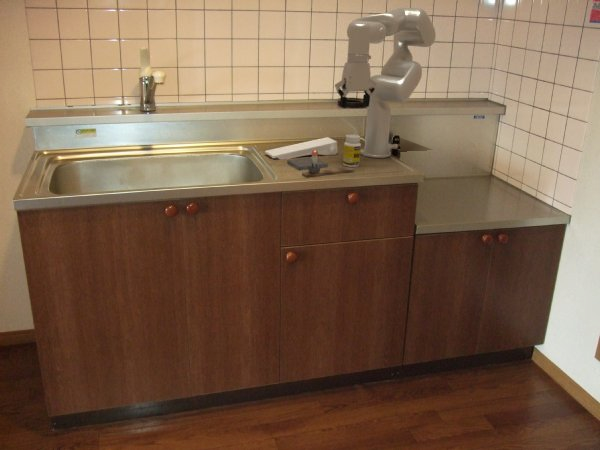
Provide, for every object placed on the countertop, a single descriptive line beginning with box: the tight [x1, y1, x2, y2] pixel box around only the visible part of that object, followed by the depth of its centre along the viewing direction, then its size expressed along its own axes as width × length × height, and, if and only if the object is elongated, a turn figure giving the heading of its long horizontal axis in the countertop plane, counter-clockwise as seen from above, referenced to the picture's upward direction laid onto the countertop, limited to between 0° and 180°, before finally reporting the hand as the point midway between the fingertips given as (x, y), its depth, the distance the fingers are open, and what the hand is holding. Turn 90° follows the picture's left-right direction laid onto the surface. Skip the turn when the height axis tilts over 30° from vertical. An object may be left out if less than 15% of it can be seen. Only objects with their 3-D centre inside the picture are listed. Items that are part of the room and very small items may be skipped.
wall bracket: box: [264, 136, 339, 160], centre depth 243 cm, size 10×7×28 cm
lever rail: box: [301, 166, 355, 178], centre depth 220 cm, size 20×3×1 cm, turn 117°
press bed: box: [286, 157, 329, 171], centre depth 229 cm, size 12×10×1 cm
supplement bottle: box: [342, 133, 362, 168], centre depth 230 cm, size 6×6×11 cm
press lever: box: [307, 150, 321, 173], centre depth 215 cm, size 3×3×8 cm
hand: (354, 106), depth 224 cm, fingers open, 9 cm apart
